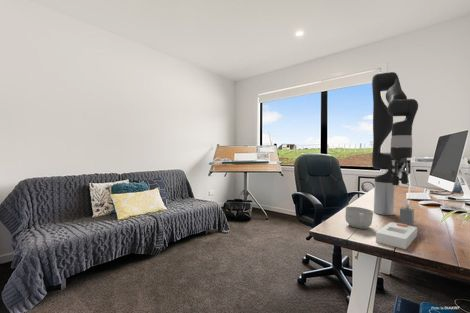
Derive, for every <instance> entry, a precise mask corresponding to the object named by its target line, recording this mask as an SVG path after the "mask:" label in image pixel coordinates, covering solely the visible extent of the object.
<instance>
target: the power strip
mask: <svg viewBox="0 0 470 313" xmlns="http://www.w3.org/2000/svg"><path fill="white" fill-rule="evenodd" d="M417 237H418V226H415V225H414V226H409V225H407V224H402V223H400V222H394V221H389V223H387V224H386V225H385V226H382V228H380V229H379V230H377V231H376V232H375V242H376V243H379V244H384V245H386V246H387V245H388V246H391V247H394V248H399V249H402V250H406V249H408V247H409V246H410V245H411V244H412V243H413V241H414V240H415V239H416V238H417Z"/></svg>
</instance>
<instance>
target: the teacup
mask: <svg viewBox="0 0 470 313" xmlns="http://www.w3.org/2000/svg"><path fill="white" fill-rule="evenodd" d="M344 215H345V217H344V218H345V221H346V223H347V224H348V225H349V226H350V227H353V228H354V229H355V228H356V229H362V230H366V229H367V228H369V227H370V226H372V223H373V216H374V210H371V209H367V208H365V207H358V206H345V214H344Z"/></svg>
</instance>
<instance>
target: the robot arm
mask: <svg viewBox="0 0 470 313" xmlns="http://www.w3.org/2000/svg"><path fill="white" fill-rule="evenodd" d="M371 86H372V88H371V90H372V100H373V101H372V102H373V106H372V107H373V108H372V138H373V140H372V157H371V163H372V164H371V165H372V168H373V169H374V170H375V169H376V170H387V172H385V173H383V174H379V175H376V176H374V189H373V190H374V194H373V214H374V213H375V214H378V215H382V216H393V215H394V214H395V213H394V212H395V211H394V208H395V186H397V187H398V186H399V185H400V184H402V185H408V181H409V175H410V174H411V172H412V170H411V169H412V167H411V165H412V164H411V162H412V161H411V160H409V159H411V158H412V157H413V125H414V120H415V117H416V114H417V112H418V109H419V103H418V101H417V100H416V99H415V98H408V97H407V95H406V94H405V92H404V91H403V89H402V85H401V82H400V80H399V76H398V74H397V73H396V72H393V71H389V72H380V73H376V74H374V75H373V76H372V81H371ZM381 92H386V93H385V99H386V101H387V103H388V105H386V103H385V102H384V100H383V98H382V94H381ZM394 117H405V118H404V120H400V121H395V122H394ZM390 133H391V138H390V150H389V151H390V152H380V150H381V148H382V145H383V143H384V142H385V140H386V139H387V137H388V136H389V135H390ZM400 176H401V177H400Z"/></svg>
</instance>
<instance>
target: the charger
mask: <svg viewBox="0 0 470 313" xmlns="http://www.w3.org/2000/svg"><path fill="white" fill-rule="evenodd" d="M399 211H400V212H399V223H402V224H407V225H409V226H414V227H415V225H414V224H415V208H410V204H408V203H406V204H405V207H401V208H400V209H399Z"/></svg>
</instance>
